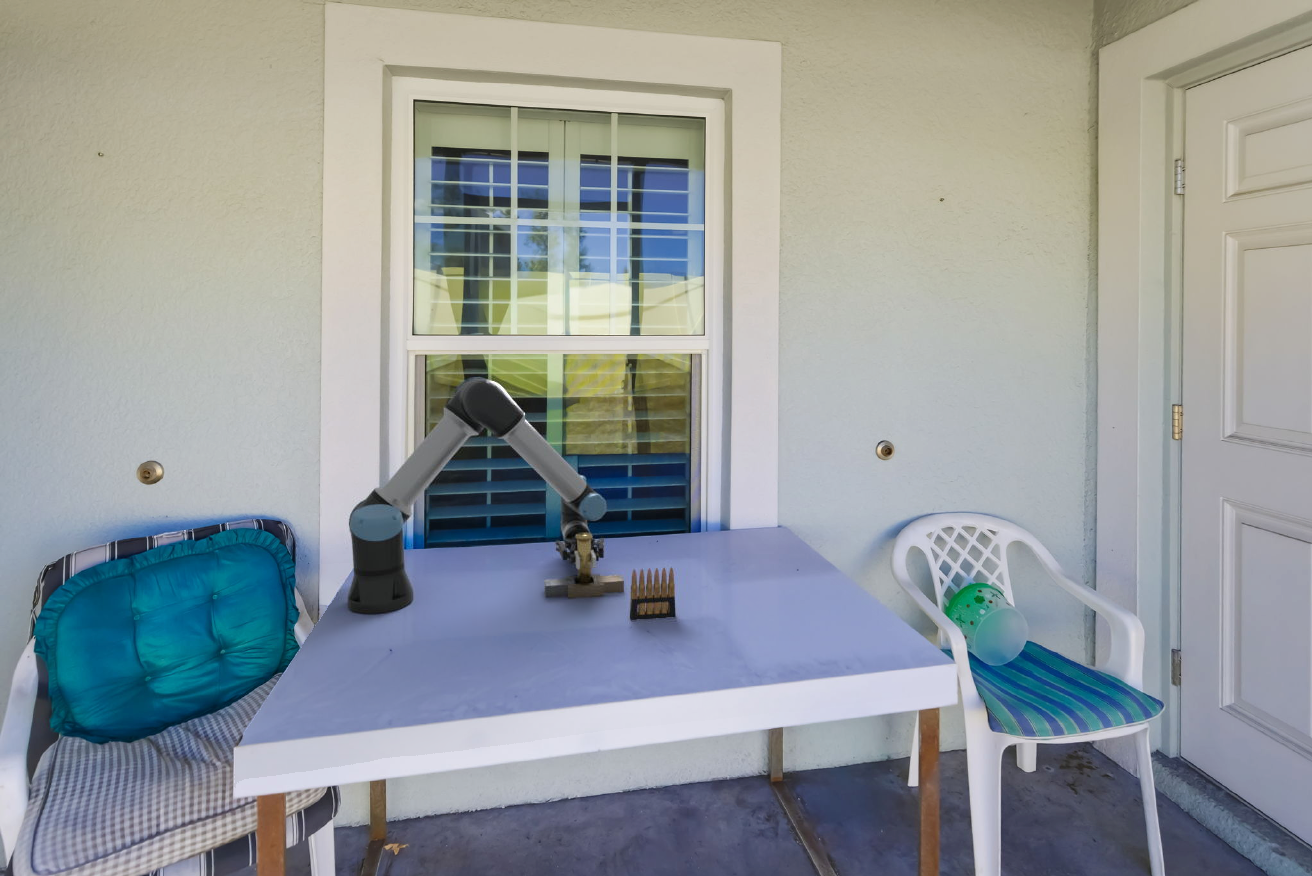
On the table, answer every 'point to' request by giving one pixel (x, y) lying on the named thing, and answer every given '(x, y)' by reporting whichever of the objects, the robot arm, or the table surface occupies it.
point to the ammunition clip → (652, 596)
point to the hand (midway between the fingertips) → (586, 563)
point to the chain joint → (584, 586)
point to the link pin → (584, 557)
